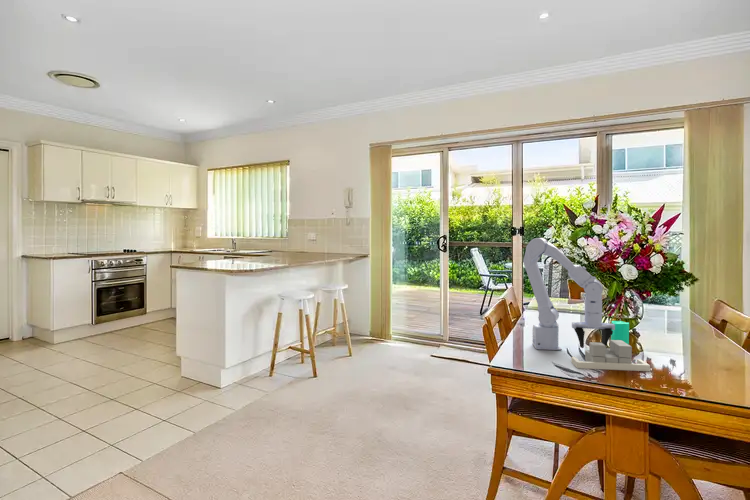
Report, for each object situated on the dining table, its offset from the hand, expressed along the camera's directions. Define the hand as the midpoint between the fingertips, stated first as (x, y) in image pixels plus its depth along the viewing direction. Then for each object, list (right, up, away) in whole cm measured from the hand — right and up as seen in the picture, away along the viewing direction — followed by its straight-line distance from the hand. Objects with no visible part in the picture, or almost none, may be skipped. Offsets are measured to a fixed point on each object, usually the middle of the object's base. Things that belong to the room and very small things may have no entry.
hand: (592, 347), depth 151 cm
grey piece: (-3, -3, -15) cm, 15 cm away
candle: (+14, -2, +6) cm, 15 cm away
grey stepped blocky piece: (-2, -3, -11) cm, 11 cm away
